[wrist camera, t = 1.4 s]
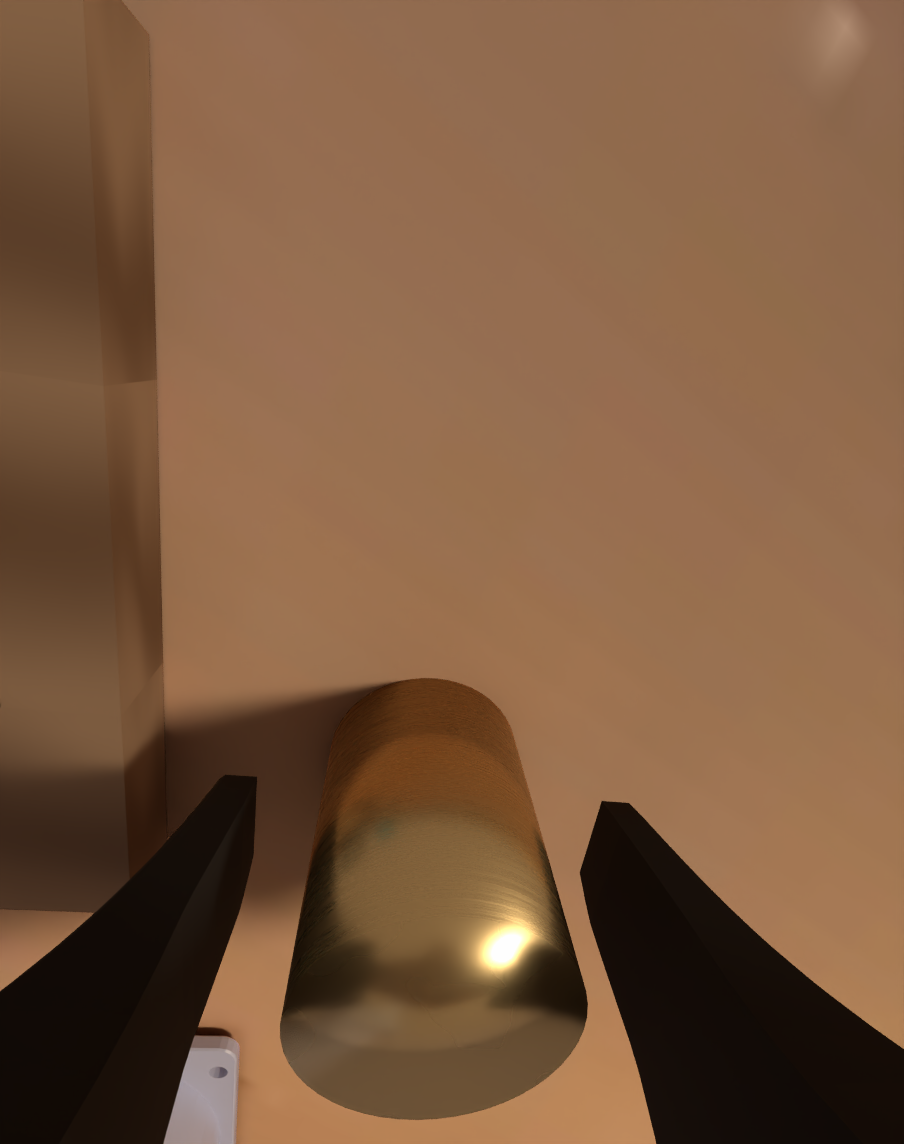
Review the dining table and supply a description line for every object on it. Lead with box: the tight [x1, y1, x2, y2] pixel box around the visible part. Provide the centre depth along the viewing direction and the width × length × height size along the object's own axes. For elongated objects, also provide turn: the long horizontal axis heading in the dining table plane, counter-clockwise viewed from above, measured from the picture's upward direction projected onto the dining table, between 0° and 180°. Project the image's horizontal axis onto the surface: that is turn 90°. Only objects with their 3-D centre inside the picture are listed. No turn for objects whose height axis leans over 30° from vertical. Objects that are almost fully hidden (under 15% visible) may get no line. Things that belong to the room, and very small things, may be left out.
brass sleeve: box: [280, 678, 588, 1120], centre depth 11 cm, size 4×4×6 cm
